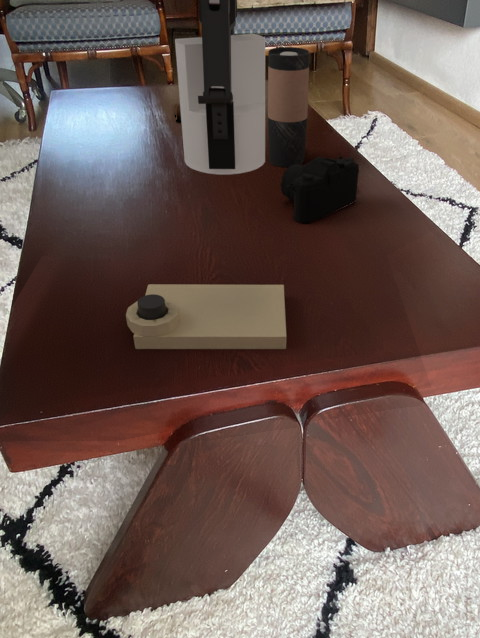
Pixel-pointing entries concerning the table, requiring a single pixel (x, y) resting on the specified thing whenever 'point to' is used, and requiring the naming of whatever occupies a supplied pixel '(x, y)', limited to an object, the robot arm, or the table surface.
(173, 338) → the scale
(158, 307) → the button
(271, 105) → the travel mug
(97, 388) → the table surface
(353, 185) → the film camera
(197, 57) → the base with upright slab
